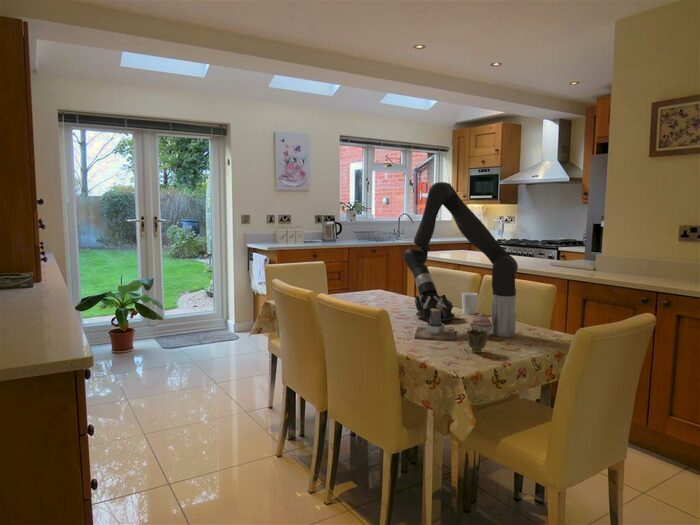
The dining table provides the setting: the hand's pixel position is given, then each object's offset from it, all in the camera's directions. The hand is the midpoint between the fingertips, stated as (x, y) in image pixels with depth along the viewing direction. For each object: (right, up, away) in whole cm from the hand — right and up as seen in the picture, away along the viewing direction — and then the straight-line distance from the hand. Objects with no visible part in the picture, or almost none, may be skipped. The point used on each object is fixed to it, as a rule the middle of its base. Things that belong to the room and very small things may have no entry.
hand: (436, 317), depth 202 cm
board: (0, -8, +2) cm, 8 cm away
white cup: (+24, -3, +44) cm, 50 cm away
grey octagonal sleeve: (0, -7, +2) cm, 7 cm away
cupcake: (+19, -8, 0) cm, 20 cm away
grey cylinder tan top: (0, -7, +2) cm, 7 cm away
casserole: (+5, -5, +33) cm, 33 cm away
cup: (+11, -11, -22) cm, 27 cm away
